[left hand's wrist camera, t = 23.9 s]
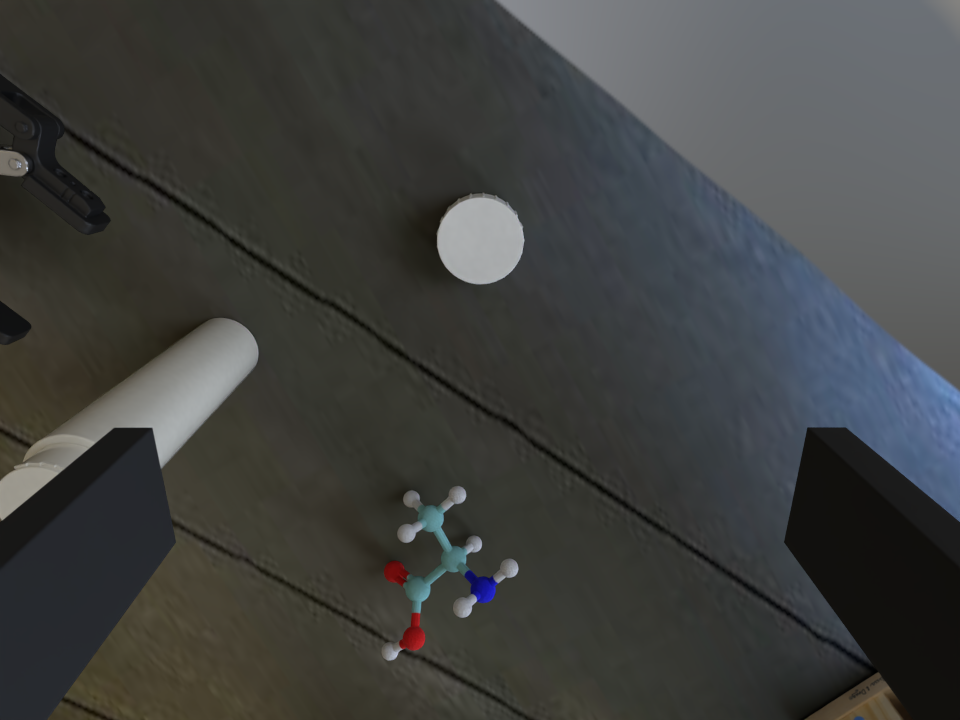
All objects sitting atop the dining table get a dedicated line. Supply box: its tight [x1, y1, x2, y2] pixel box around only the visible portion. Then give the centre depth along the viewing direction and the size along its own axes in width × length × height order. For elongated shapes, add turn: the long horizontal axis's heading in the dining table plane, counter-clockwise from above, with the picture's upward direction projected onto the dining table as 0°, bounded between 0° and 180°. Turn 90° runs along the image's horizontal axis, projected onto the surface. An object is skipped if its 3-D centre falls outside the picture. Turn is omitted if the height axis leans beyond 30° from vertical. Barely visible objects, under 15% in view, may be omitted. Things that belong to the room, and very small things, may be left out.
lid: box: [436, 192, 524, 284], centre depth 39 cm, size 5×5×2 cm
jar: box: [0, 318, 258, 520], centre depth 34 cm, size 5×5×19 cm
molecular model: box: [382, 486, 518, 660], centre depth 45 cm, size 12×10×10 cm
